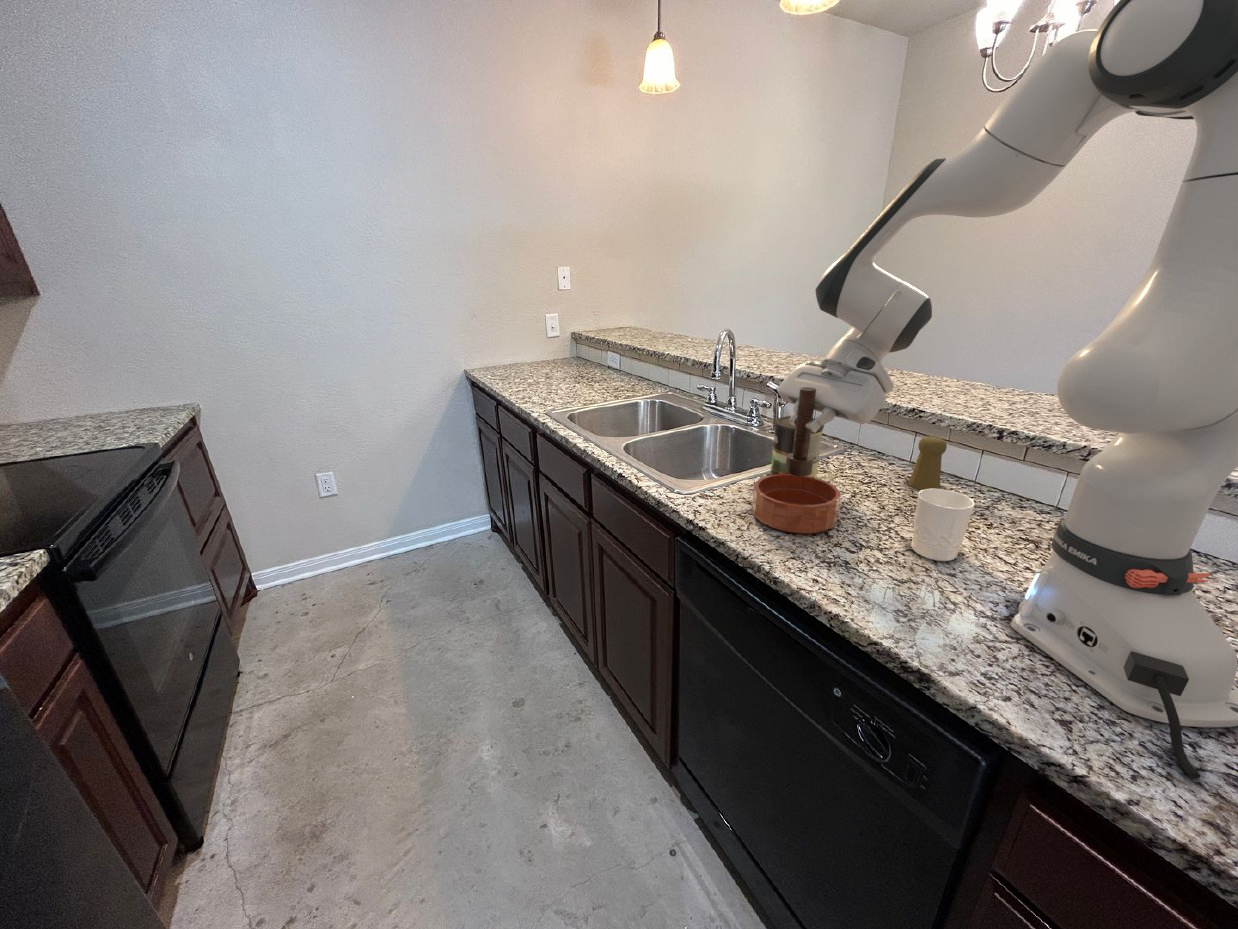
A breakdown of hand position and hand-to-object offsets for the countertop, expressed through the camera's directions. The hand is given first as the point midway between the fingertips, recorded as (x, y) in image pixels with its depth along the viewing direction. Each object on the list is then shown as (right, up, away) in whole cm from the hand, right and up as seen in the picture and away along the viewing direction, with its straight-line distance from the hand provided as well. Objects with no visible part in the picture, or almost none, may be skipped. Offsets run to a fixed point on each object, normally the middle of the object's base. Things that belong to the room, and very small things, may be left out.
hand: (801, 427), depth 91 cm
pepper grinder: (+34, -12, +20) cm, 41 cm away
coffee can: (+7, -11, +24) cm, 27 cm away
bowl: (+1, -17, +7) cm, 19 cm away
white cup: (+20, -22, -6) cm, 31 cm away
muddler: (+1, -8, +4) cm, 9 cm away
